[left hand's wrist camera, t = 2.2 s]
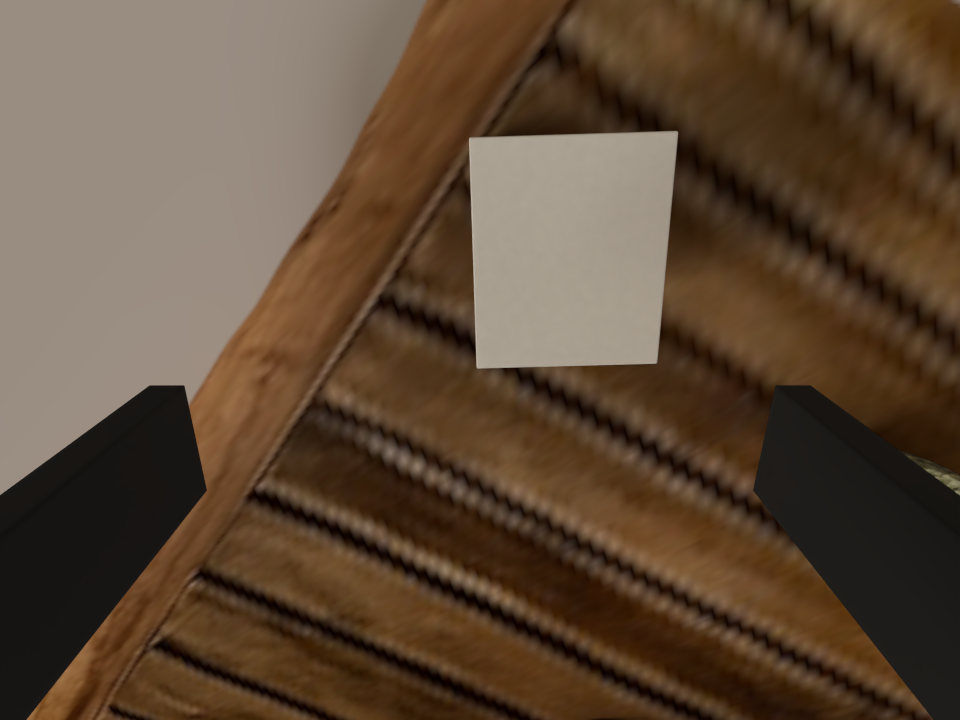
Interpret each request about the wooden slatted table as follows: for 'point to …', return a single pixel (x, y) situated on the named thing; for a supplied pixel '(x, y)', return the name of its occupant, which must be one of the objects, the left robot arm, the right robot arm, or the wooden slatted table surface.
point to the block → (570, 247)
